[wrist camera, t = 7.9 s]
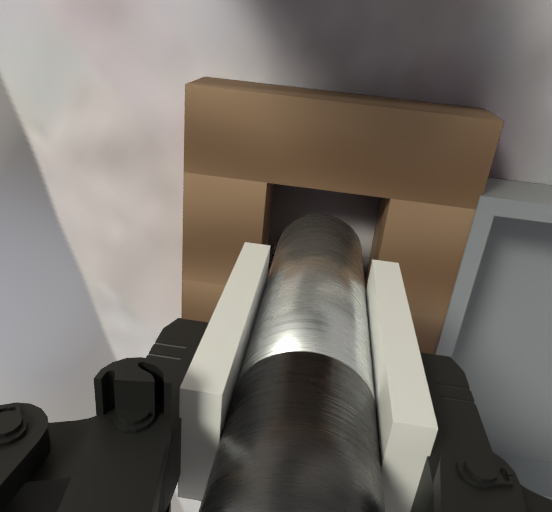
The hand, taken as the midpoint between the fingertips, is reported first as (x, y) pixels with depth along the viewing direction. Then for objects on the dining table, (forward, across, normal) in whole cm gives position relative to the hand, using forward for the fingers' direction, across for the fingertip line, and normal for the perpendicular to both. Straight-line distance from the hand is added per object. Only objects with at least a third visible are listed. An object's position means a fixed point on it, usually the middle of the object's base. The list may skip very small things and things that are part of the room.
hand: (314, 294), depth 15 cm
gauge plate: (+6, 0, 0) cm, 6 cm away
